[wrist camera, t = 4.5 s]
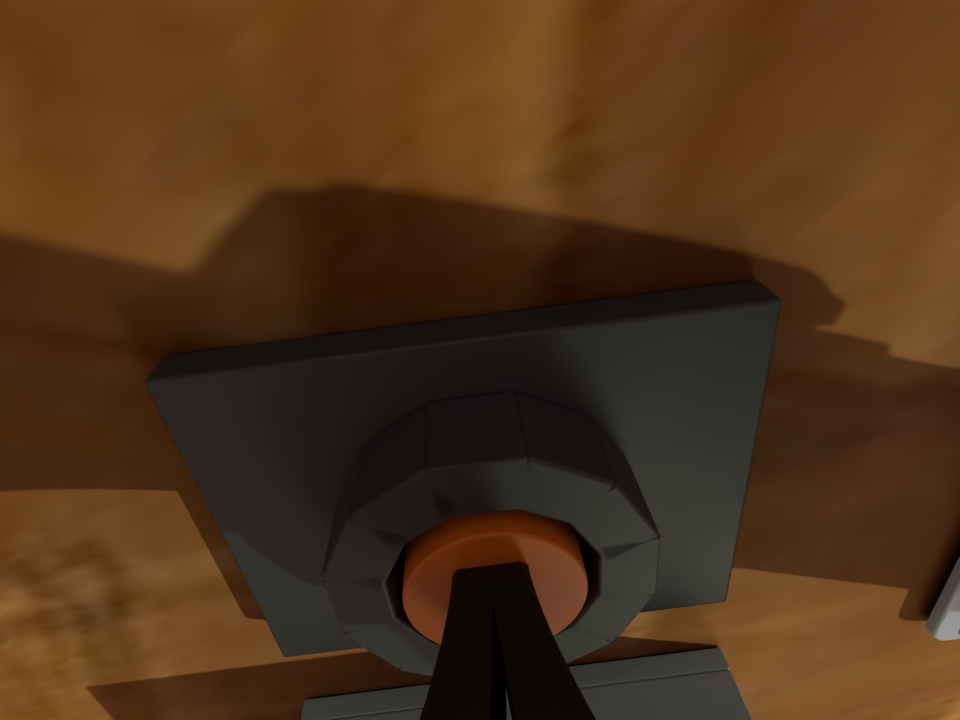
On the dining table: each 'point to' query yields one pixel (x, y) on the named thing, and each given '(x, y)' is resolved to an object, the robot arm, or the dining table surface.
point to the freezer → (588, 692)
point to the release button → (493, 543)
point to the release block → (480, 455)
